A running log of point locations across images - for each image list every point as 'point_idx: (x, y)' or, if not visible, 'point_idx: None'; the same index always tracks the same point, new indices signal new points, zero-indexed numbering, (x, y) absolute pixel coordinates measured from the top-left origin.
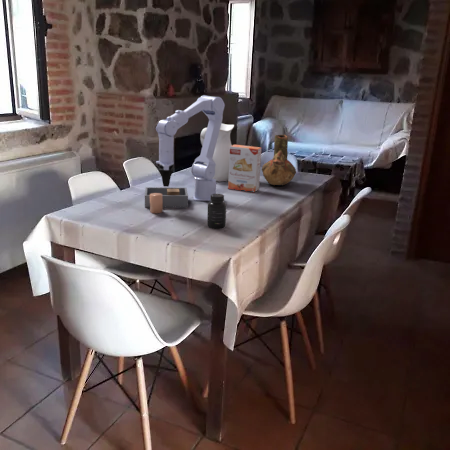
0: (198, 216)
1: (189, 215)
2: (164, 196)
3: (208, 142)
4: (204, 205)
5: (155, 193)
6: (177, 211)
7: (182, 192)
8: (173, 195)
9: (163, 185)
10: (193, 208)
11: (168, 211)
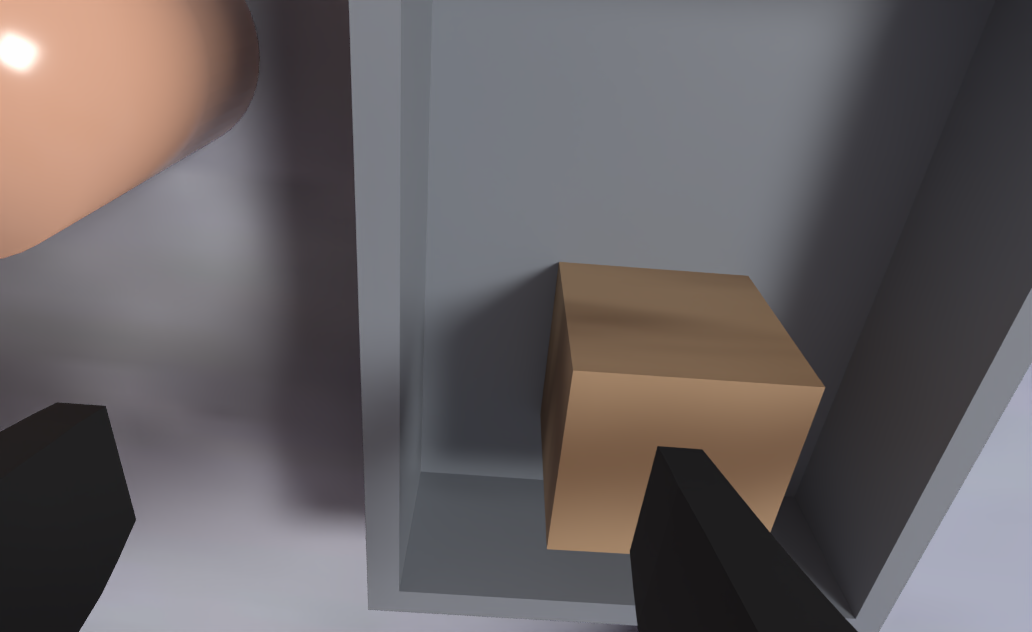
0: None
1: None
2: (362, 274)
3: None
4: (481, 620)
5: (18, 86)
6: (212, 346)
7: (835, 535)
8: (383, 433)
9: (22, 420)
10: (362, 520)
11: (193, 231)
